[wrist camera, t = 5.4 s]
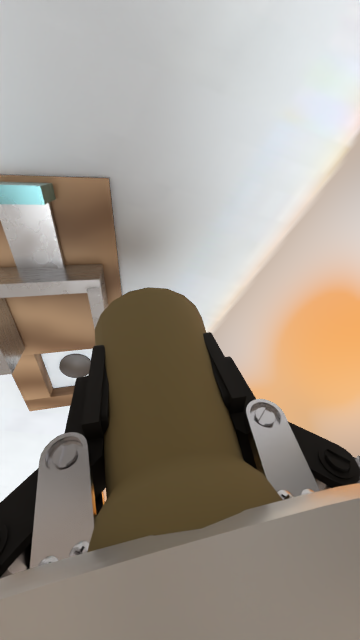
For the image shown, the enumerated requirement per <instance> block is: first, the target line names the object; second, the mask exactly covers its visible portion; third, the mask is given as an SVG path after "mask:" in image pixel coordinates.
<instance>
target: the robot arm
mask: <svg viewBox="0 0 360 640" xmlns="http://www.w3.org/2000/svg"><path fill="white" fill-rule="evenodd" d="M203 337H204V342H205V344H206V347H207V350H208V352H209V355H210V360H211V365H212V370H213V374H214V377H215V380H216V382H217V385H218V388H219V391H220V393H221V396H222V399H223V402H224V405H225V406H226V408H227V409H228V411H229V414H230V417H231V420H232V423H233V426H234V429H235V432H236V435H237V439H238V442H239V445H240V449H241V452H242V456H243V459H244V461H245V462H246V463H248V464H249V465H251V466H252V467H254V468H255V469H257V470H258V471H259V472H261V473H262V474H263V475H264V476H265V477H266V478H267V480H268V481H269V482H270V484H271V485H272V486H273V488H274V489H275V490H276V492H277V493H278V494H279V496H280V497H281V498H282V500H281V501H278V502H274V503H270V504H266V505H262V506H259V507H255V508H251V509H247V510H244V511H242V512H241V513H239V514H236V515H234V516H231V517H229V518H226V519H224V520H221V521H219V522H217V523H214V524H212V525H209V526H207V527H204V528H202V529H195V530H189V531H182V532H175V533H169V534H162V535H156V536H153V535H149V536H146V537H142V538H138V539H135V540H131V541H127V542H124V543H120V544H116V545H113V546H109V547H105V548H102V549H98V550H94V551H91V552H88V548H89V543H90V540H91V537H92V533H93V530H94V524H95V518H96V516H97V515H98V513H99V511H100V510H101V508H102V506H103V505H104V503H105V501H104V493H103V490H104V489H105V488H106V482H105V460H104V434H105V432H106V430H107V428H108V426H109V382H108V378H107V373H106V367H105V347H104V345H97V346H93V351H92V357H91V364H90V370H89V376H85V377H78V378H77V379H76V382H75V387H74V392H73V396H72V401H71V406H70V410H69V415H68V420H67V424H66V429H65V433H64V434H62V435H60V436H57V437H56V438H55V439H53V440H52V441H51V442H50V443H49V444H48V445H47V446H46V447H45V448H44V450H43V452H42V454H41V457H40V461H39V468H38V469H37V470H36V471H35V472H34V473H32V474H31V475H30V476H29V477H28V478H27V479H26V480H25V481H24V482H23V483H22V484H20V485H19V486H18V487H17V488H16V489H15V490H14V491H13V492H12V493H11V494H9V495H8V496H7V497H6V498H5V499H4V500H3V501H2V502H1V503H0V640H360V456H357V458H354V457H352V455H351V454H350V453H349V452H347V451H346V450H345V449H344V448H342V447H340V446H339V445H337V444H335V443H332V442H330V441H328V440H326V439H324V438H322V437H320V436H318V435H316V434H313V433H311V432H309V431H307V430H305V429H303V428H301V427H298V426H296V425H294V424H292V423H290V422H288V421H287V419H286V417H285V415H284V413H283V411H282V410H281V409H280V408H279V407H278V406H277V405H276V404H274V403H273V402H271V401H268V400H265V399H256V398H255V397H254V395H253V393H252V391H251V390H250V388H249V386H248V385H247V383H246V381H245V380H244V378H243V377H242V375H241V373H240V371H239V370H238V368H237V366H236V365H235V363H234V361H233V360H232V358H231V357H225V356H224V355H223V353H222V351H221V349H220V348H219V346H218V344H217V342H216V340H215V339H214V337H213V335H212V334H211V333H210V332H209V333H203Z"/></svg>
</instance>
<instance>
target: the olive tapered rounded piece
mask: <svg viewBox="0 0 360 640" xmlns="http://www.w3.org/2000/svg"><path fill="white" fill-rule="evenodd" d="M203 333H206V330H205V327H204V324H203V320H202V317H201V315H200V314H199V312H198V310H197V308H196V306H195V305H194V304H193V303H192V302H191V301H189V300H188V299H187V298H186V297H185V296H184V295H181V294H179V293H176V292H174V291H171V290H169V289H162V288H144V289H139V290H135V291H130V292H128V293H126V294H124V295H123V296H121V297H119V298H117V299H115V300H114V301H112V302H111V303H110V305H109V306H108V307H107V308H106V309H105V310H104V311H103V312H102V313H101V315H100V317H99V320H98V322H97V325H96V327H95V346H97V345H104V347H105V367H106V373H107V378H108V382H109V426H108V428H107V430H106V432H105V434H104V460H105V482H106V494H107V500H106V502H105V503H104V505H103V506H102V508H101V510H100V511H99V513H98V515H97V516H96V518H95V524H94V530H93V533H92V537H91V540H90V543H89V548H88V552H91V551H94V550H98V549H102V548H105V547H109V546H113V545H116V544H120V543H124V542H127V541H131V540H135V539H138V538H142V537H146V536H149V535H153V536H156V535H162V534H169V533H175V532H182V531H189V530H195V529H202V528H204V527H207V526H209V525H212V524H214V523H217V522H219V521H221V520H224V519H226V518H229V517H231V516H234V515H236V514H239V513H241V512H242V511H244V510H247V509H251V508H255V507H259V506H262V505H266V504H270V503H274V502H278V501H281V500H282V498H281V497H280V496H279V494H278V493H277V492H276V490H275V489H274V488H273V486H272V485H271V484H270V482H269V481H268V480H267V478H266V477H265V476H264V475H263V474H262V473H261V472H259V471H258V470H257V469H255V468H254V467H252V466H251V465H249V464H248V463H246V462H245V461H244V459H243V456H242V452H241V449H240V445H239V442H238V439H237V435H236V432H235V429H234V426H233V423H232V420H231V417H230V414H229V411H228V409H227V408H226V406H225V405H224V402H223V399H222V396H221V393H220V391H219V388H218V385H217V382H216V380H215V377H214V374H213V370H212V365H211V360H210V355H209V352H208V350H207V347H206V344H205V342H204V337H203Z"/></svg>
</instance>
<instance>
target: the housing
mask: <svg viewBox="0 0 360 640" xmlns="http://www.w3.org/2000/svg"><path fill="white" fill-rule="evenodd" d="M55 199H56V198H55V193H54V189H53V184H52V183H36V182H0V221H1V224H2V226H3V229H4V232H5V235H6V238H7V241H8V244H9V246H10V249H11V252H12V255H13V258H14V261H15V264H16V266H17V267H7V268H0V375H5V374H12V373H13V371H14V369H15V367H16V365H17V363H18V361H19V360H20V358H21V356H22V354H23V352H24V350H25V347H24V344H23V342H22V340H21V337H20V335H19V332H18V330H17V327H16V325H15V322H14V320H13V318H12V315H11V313H10V310H9V308H8V305H7V303H6V300H5V298H8V297H25V296H42V295H59V294H76V293H88V299H89V304H90V309H91V314H92V319H93V324H94V329H95V327H96V325H97V322H98V320H99V317H100V315H101V313H102V312H103V311H104V310H105V309H106V308H107V307H108V299H107V292H106V286H105V279H104V272H103V265H102V264H87V265H65V263H64V259H63V254H62V250H61V246H60V242H59V237H58V233H57V229H56V225H55V220H54V216H53V212H52V208H51V203H50V202H51V201H53V200H55Z"/></svg>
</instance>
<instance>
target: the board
mask: <svg viewBox="0 0 360 640" xmlns="http://www.w3.org/2000/svg"><path fill="white" fill-rule="evenodd" d="M0 182H36V183H52V184H53V189H54V193H55V198H56V199H55V200H53V201H51V202H50V203H51V208H52V212H53V216H54V220H55V225H56V229H57V233H58V237H59V242H60V246H61V250H62V254H63V259H64V263H65V265H87V264H102V265H103V272H104V279H105V286H106V292H107V299H108V306H109V305H110V303H111V302H112V301H114V300H115V299H117V298H119V297H121V296H122V292H121V283H120V274H119V265H118V256H117V246H116V237H115V228H114V219H113V210H112V201H111V192H110V183H109V178H89V177H56V176H23V175H0ZM7 267H17V266H16V264H15V261H14V258H13V255H12V252H11V249H10V246H9V244H8V241H7V238H6V235H5V232H4V229H3V226H2V224H1V221H0V268H7ZM5 300H6V303H7V305H8V308H9V310H10V313H11V315H12V318H13V320H14V322H15V325H16V327H17V330H18V332H19V335H20V337H21V340H22V342H23V344H24V347H25V350H24V352H23V354H22V356H21V358H20V360H19V361H18V363H17V365H16V367H15V369H14V371H13V373H12V376H13V378H14V380H15V382H16V384H17V386H18V388H19V390H20V392H21V394H22V396H23V399H24V401H25V403H26V405H27V407H28V409H29V411H35V410H42V409H49V408H55V407H62V406H69V405H71V401H72V396H73V392H74V387H75V386H70V387H62V388H55V389H53V387H52V384H51V382H50V379H49V376H48V374H47V371H46V368H45V365H44V363H43V360H42V357H41V355H40V354H43V353H53V352H62V351H72V350H82V349H91V348H93V346H95V329H94V324H93V319H92V314H91V309H90V304H89V299H88V293H76V294H59V295H42V296H25V297H8V298H5ZM90 364H91V361H90V360H89V358H87V357H86V356H83V355H80V354H71V355H68V356H66V357H64V358H63V359H62V360H61V362H60V370H61V372H62V373H63V374H65V375H66V376H68V377H72V378H78V377H83V376H86V375H87V374H89V370H90Z"/></svg>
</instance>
